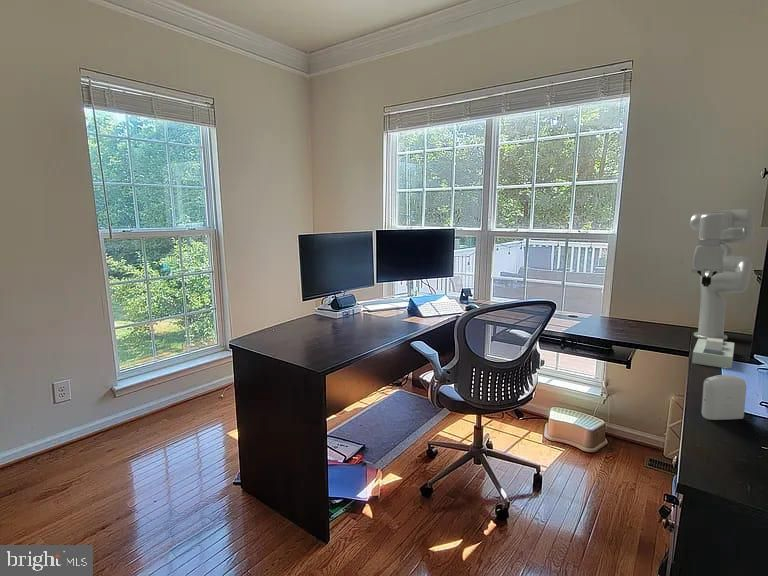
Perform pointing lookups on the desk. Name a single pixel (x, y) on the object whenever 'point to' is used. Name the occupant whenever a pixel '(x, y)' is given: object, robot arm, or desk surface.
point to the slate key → (713, 350)
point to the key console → (713, 355)
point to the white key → (714, 342)
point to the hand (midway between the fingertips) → (706, 286)
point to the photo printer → (723, 397)
